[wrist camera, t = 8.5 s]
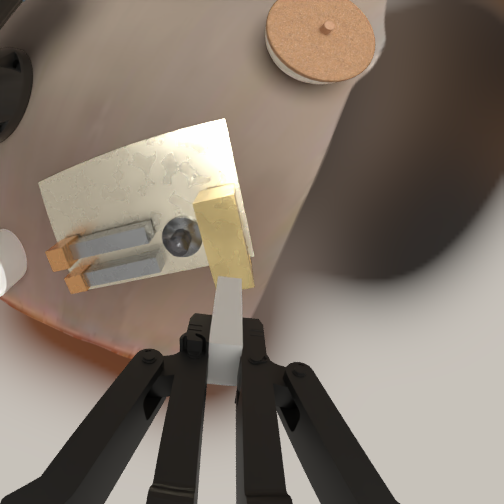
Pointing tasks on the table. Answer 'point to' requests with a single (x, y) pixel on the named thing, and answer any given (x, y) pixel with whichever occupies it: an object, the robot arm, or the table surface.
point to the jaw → (98, 244)
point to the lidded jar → (319, 39)
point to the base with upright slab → (11, 260)
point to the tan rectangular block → (223, 234)
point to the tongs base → (143, 203)
